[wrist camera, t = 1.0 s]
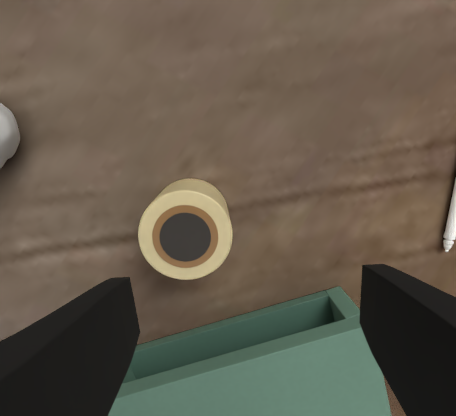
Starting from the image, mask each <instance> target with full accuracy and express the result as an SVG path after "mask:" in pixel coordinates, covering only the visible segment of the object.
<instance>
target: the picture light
mask: <svg viewBox="0 0 456 416" xmlns="http://www.w3.org/2000/svg"><path fill="white" fill-rule="evenodd" d="M443 238H445V240H443V243H444V245H443V246H444V248H445V252H448V250H449V249H450V248H451V247H452V245H453V243H454V242H453V241H452V240H455V238H456V179H455V184H454V189H453V194H452V199H451V204H450V209H449V214H448V219H447V224H446V229H445V232H444V235H443Z"/></svg>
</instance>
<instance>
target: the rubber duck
mask: <svg viewBox="0 0 456 416" xmlns="http://www.w3.org/2000/svg"><path fill="white" fill-rule="evenodd" d="M19 142H20V132H19V129H18V125H17V122H16V119H15V117H14V115H13V113H12V112H11V111H10V110H9V109H8V108H7V107H5V106H4V105H3V104H1V103H0V169H1V167H2V166H3V165H4V164H5V162H6V160H7V159H9V158H11V157H12V156H13V155H14V154H15V152H16V150H17V147H18V145H19Z"/></svg>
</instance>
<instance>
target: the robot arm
mask: <svg viewBox="0 0 456 416" xmlns="http://www.w3.org/2000/svg"><path fill="white" fill-rule="evenodd" d="M359 323H360V325H361V328H362V330H363V333H364V336H365V338H366V341H367V343H368V345H369V348H370V350H371V353H372V355H373V356H374V358H375V360H376V362H377V364H378V366H379V367H380V369H381V371H382V373H383V375H384V376H385V378H386V380H387V382H388V384H389V385H390V387H391V389H392V391H393V392H394V394H395V396H396V398H397V399H398V401H399V403H400V405H401V407H402V408H403V410H404V412H405V414H406V415H407V416H456V297H454V296H452V295H450V294H447V293H445V292H443V291H441V290H439V289H437V288H435V287H433V286H431V285H429V284H427V283H424V282H422V281H420V280H418V279H416V278H414V277H412V276H410V275H408V274H406V273H404V272H402V271H399V270H397V269H395V268H393V267H390V266H388V265H385V264H374V265H363V266H362V285H361V303H360V321H359ZM139 334H140V329H139V323H138V318H137V313H136V308H135V303H134V297H133V292H132V287H131V282H130V277H123V278H110V279H108V280H106V281H104V282H102V283H100V284H98V285H97V286H95V287H93V288H92V289H90V290H88V291H87V292H85V293H83V294H82V295H80V296H78V297H77V298H75V299H74V300H72V301H70V302H69V303H67V304H65V305H64V306H62V307H61V308H59V309H57V310H56V311H54V312H52V313H51V314H49V315H47V316H46V317H44V318H42V319H40V320H39V321H37V322H35V323H33V324H32V325H30V326H28V327H26V328H25V329H23V330H21V331H19V332H18V333H16V334H14V335H12V336H10V337H8V338H7V339H5V340H3V341H1V342H0V416H108V414H109V412H110V410H111V408H112V405H113V403H114V401H115V399H116V396H117V394H118V392H119V390H120V387H121V385H122V383H123V380H124V378H125V376H126V373H127V371H128V369H129V366H130V364H131V361H132V358H133V355H134V352H135V348H136V345H137V341H138V337H139Z"/></svg>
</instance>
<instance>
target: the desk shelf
mask: <svg viewBox="0 0 456 416" xmlns="http://www.w3.org/2000/svg"><path fill="white" fill-rule="evenodd" d="M359 321H360V309H359V308H358V307H357V306H356V305H355V304H354V302H353V301H352V300H351V299H350V298H349V297H348V295H347V294H346V293H345V292H344V291H343V289H342V288H341V287H340V286H339V287H335V288H332V289H328V290H326V291H321V292H317V293H314V294H311V295H307V296H304V297H300V298H297V299H294V300H290V301H287V302H283V303H280V304H276V305H273V306H270V307H266V308H263V309H259V310H256V311H252V312H249V313H246V314H242V315H239V316H235V317H232V318H229V319H225V320H222V321H218V322H215V323H211V324H208V325H205V326H201V327H198V328H194V329H191V330H187V331H184V332H181V333H177V334H174V335H170V336H167V337H163V338H160V339H157V340H153V341H150V342H146V343H143V344H140V345H136V348H135V352H134V355H133V358H132V361H131V364H130V366H129V369H128V371H127V373H126V376H125V378H124V380H123V383H122V385H121V387H120V390H119V392H118V394H117V396H116V399H115V401H114V403H113V405H112V408H111V410H110V412H109V414H108V416H391V411H390V406H389V401H388V396H387V392H386V387H385V382H384V377H383V373H382V371H381V369H380V367H379V366H378V364H377V362H376V360H375V358H374V356H373V355H372V353H371V350H370V348H369V345H368V343H367V341H366V338H365V336H364V333H363V330H362V328H361V325H360V323H359Z"/></svg>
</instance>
